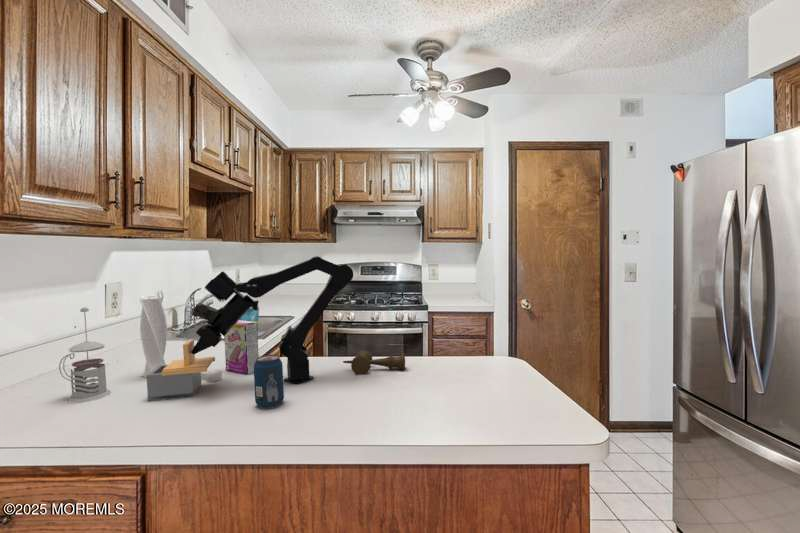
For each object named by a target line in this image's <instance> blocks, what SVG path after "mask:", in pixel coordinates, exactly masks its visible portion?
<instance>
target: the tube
mask: <svg viewBox="0 0 800 533" xmlns="http://www.w3.org/2000/svg"><path fill="white" fill-rule="evenodd" d="M259 313H260V307H259V306H258V310H257V311H255V310H254V309H253V308H252V307H251V308H250V309H249V310H248V311H247V312H246V313H245V314H244V315H243V316H242V317H241V318H240V319H239V320H243V321H252V322H257V335H259Z"/></svg>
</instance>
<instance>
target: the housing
mask: <svg viewBox="0 0 800 533" xmlns="http://www.w3.org/2000/svg"><path fill="white" fill-rule="evenodd" d="M167 365H168V364H166V365H159V366H157V367H156V368H155V369H154V370H153V371H151V372H150V373H149V374H148V375H147V378H146V388H147V389H146V390H147V391H146V392H147V402H154V401H153V400H157V401H163V400H162V399H166V400H171V398H175V399H180V398H179V397H184V398H190V397H189V396H193V397H194V396H195V395H194V394H196V393H197V392H198V391H199V390H200V388H201V387H202V380H201V372H197V373H187V374H177V375H166V376H162V371H163V369H164V368H165V367H166V366H167ZM197 390H198V391H197ZM196 391H197V392H196Z"/></svg>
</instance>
